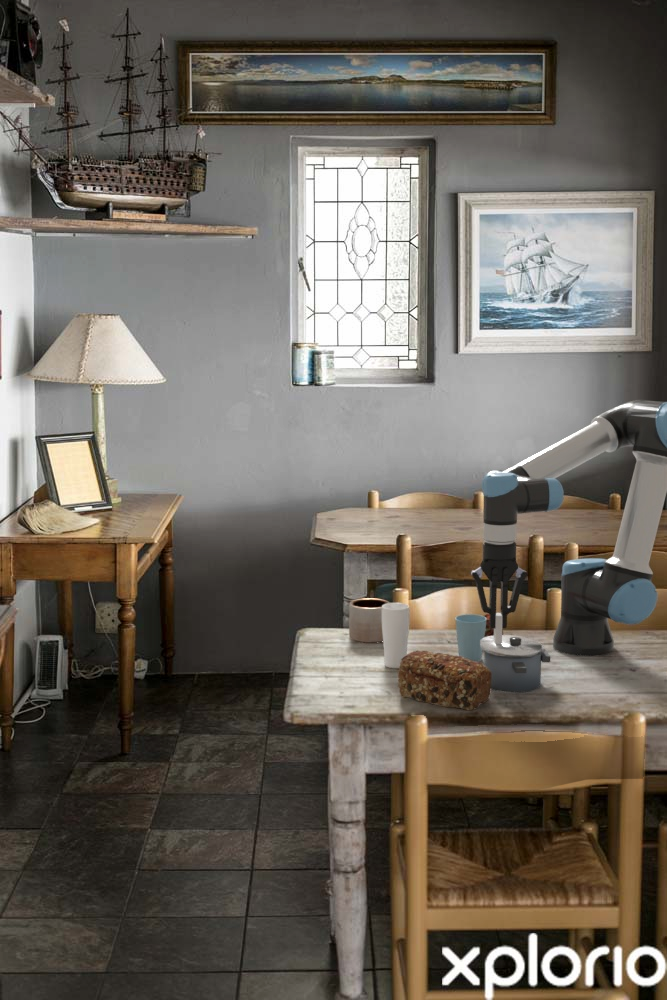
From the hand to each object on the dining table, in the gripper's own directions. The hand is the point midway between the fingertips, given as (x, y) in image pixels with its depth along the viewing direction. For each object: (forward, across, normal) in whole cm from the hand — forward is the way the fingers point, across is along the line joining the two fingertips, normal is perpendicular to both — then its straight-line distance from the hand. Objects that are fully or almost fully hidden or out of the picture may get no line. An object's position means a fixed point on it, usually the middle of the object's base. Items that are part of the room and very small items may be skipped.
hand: (497, 641), depth 258 cm
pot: (+10, -4, 0) cm, 11 cm away
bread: (+10, +13, +10) cm, 19 cm away
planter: (+10, +28, -38) cm, 48 cm away
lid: (+2, -3, 0) cm, 4 cm away
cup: (+10, +4, -19) cm, 22 cm away
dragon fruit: (+10, -2, -32) cm, 34 cm away
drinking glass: (+10, +22, -14) cm, 28 cm away
